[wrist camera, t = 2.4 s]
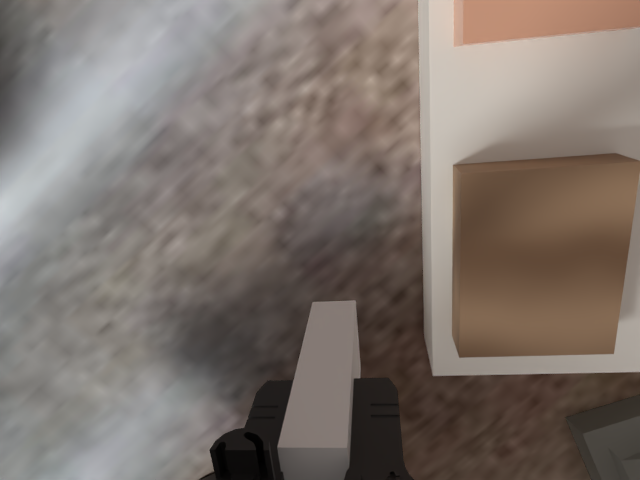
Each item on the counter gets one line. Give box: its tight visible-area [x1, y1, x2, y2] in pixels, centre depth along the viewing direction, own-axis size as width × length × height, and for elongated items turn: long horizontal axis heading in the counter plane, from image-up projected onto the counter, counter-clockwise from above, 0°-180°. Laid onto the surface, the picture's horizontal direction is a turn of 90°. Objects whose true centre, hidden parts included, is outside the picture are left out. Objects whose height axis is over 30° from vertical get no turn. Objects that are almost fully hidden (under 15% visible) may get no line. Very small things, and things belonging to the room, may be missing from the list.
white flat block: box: [418, 0, 640, 376], centre depth 21 cm, size 28×15×4 cm, turn 5°
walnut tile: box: [452, 153, 640, 358], centre depth 21 cm, size 9×7×2 cm
